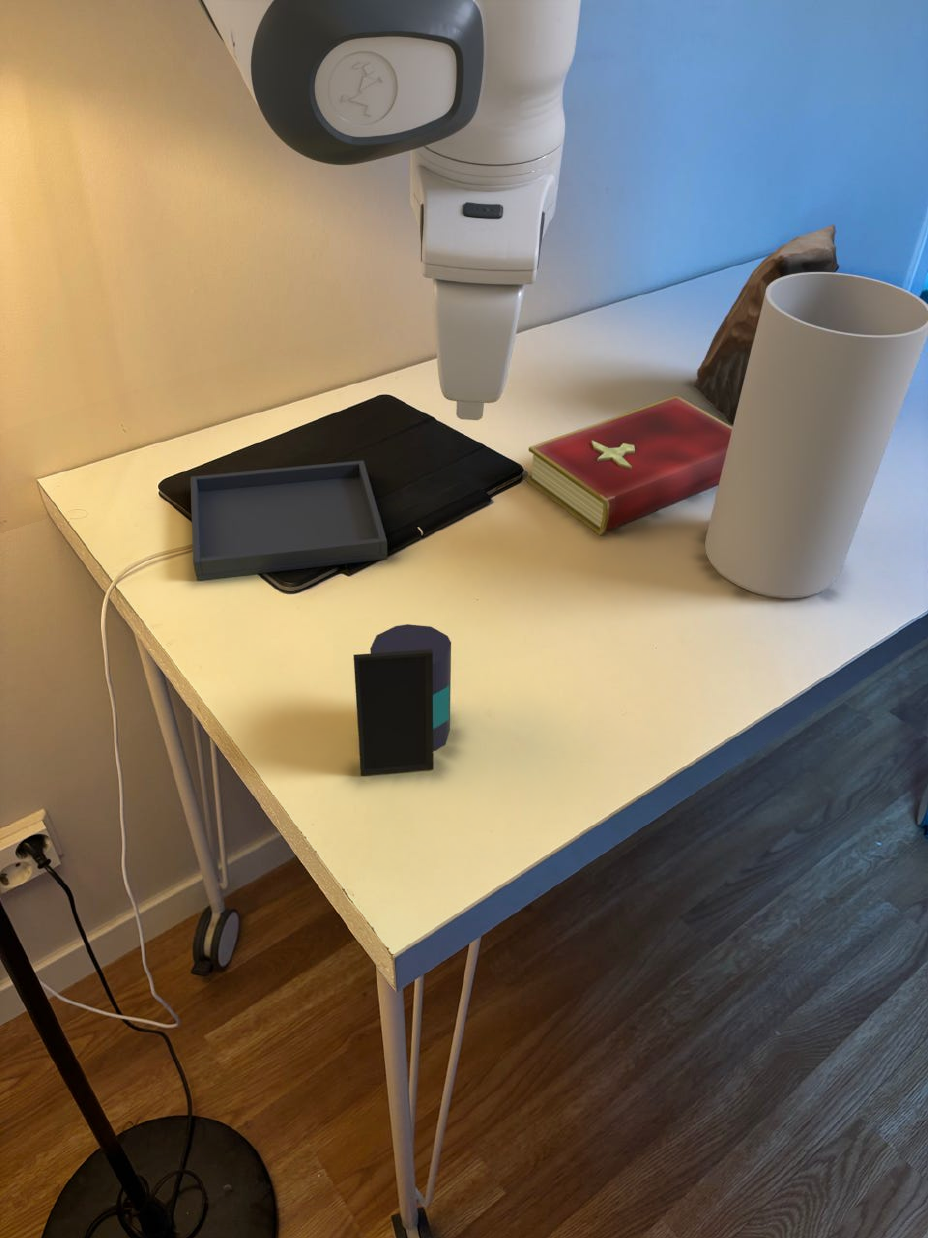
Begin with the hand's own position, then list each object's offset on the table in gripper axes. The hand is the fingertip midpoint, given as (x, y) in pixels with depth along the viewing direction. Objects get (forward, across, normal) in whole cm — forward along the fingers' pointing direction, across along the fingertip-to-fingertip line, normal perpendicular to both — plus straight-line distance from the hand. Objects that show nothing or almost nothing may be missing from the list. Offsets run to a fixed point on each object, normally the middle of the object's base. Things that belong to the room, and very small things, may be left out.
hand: (472, 369), depth 67 cm
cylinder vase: (+24, -6, +29) cm, 38 cm away
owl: (+30, -37, +33) cm, 58 cm away
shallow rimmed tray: (+25, -8, -17) cm, 31 cm away
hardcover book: (+27, -19, +18) cm, 38 cm away
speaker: (+20, +18, -4) cm, 27 cm away
